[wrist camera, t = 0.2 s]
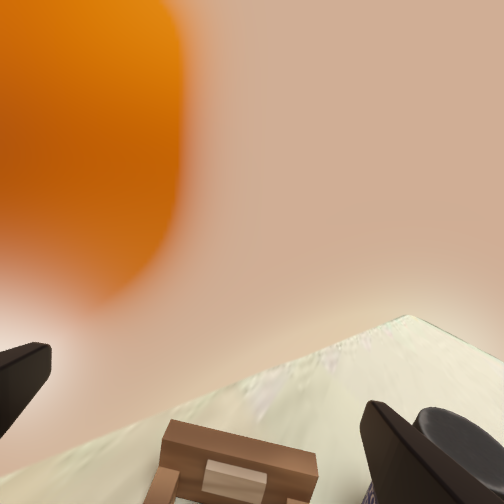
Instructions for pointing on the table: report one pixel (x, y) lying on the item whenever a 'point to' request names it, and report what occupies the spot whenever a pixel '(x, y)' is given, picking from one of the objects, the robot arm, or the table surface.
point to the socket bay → (229, 469)
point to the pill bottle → (460, 448)
